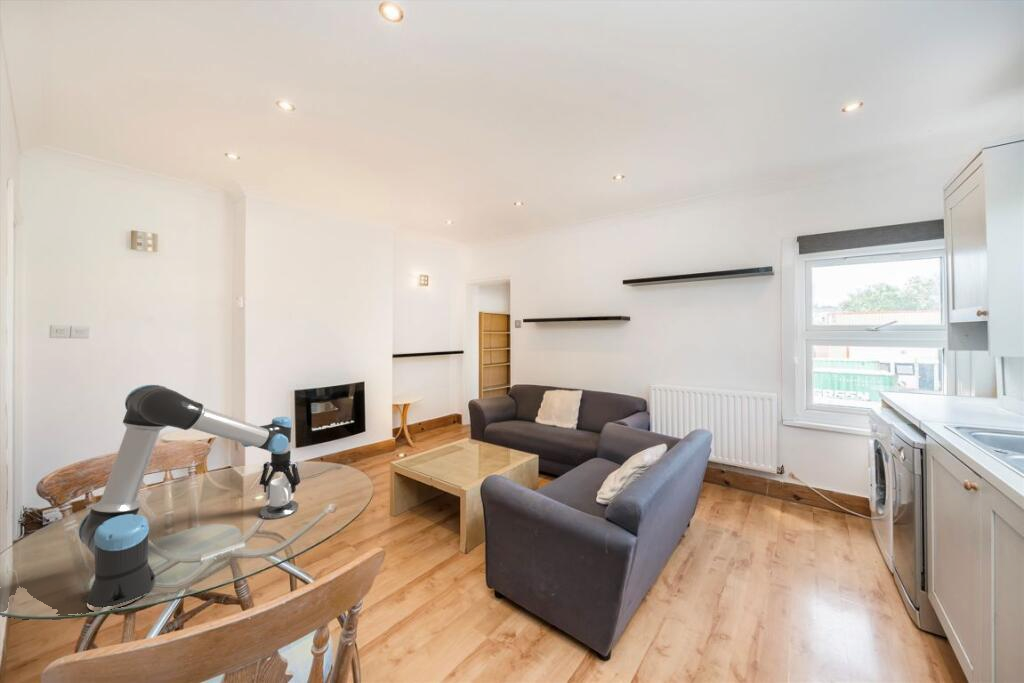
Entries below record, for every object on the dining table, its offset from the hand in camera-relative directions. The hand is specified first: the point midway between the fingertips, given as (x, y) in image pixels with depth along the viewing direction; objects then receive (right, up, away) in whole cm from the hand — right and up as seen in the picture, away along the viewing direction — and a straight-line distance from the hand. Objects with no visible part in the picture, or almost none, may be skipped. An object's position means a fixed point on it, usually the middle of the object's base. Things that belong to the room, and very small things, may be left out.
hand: (279, 499), depth 173 cm
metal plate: (0, -5, 0) cm, 5 cm away
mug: (+1, -3, 0) cm, 3 cm away
